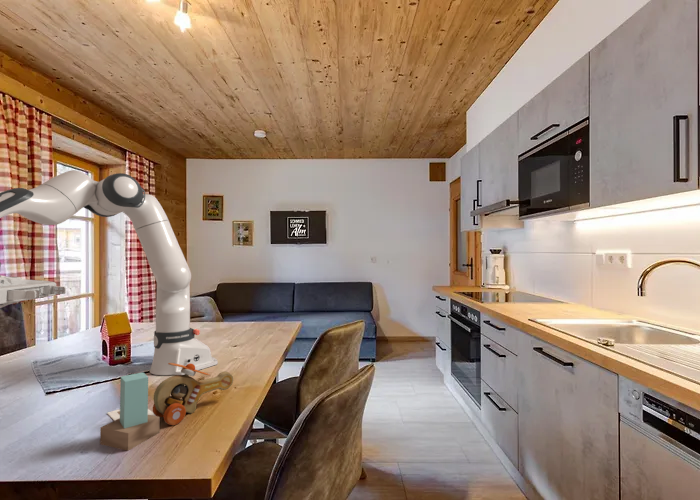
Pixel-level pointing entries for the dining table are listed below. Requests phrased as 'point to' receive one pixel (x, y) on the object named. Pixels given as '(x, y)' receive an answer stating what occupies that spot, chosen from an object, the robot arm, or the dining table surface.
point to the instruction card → (116, 414)
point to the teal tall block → (133, 399)
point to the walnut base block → (128, 433)
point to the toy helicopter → (185, 393)
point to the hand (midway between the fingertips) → (51, 292)
